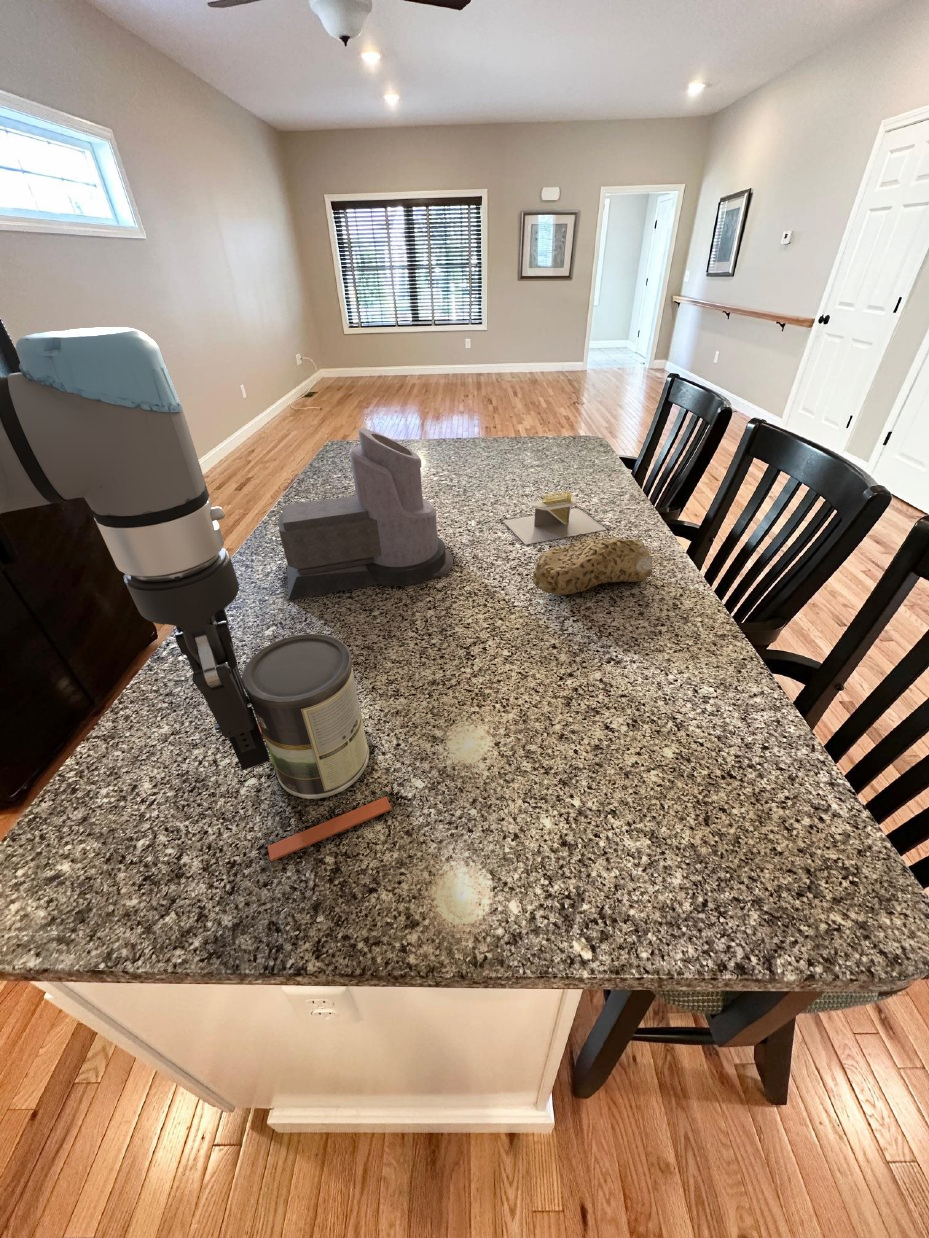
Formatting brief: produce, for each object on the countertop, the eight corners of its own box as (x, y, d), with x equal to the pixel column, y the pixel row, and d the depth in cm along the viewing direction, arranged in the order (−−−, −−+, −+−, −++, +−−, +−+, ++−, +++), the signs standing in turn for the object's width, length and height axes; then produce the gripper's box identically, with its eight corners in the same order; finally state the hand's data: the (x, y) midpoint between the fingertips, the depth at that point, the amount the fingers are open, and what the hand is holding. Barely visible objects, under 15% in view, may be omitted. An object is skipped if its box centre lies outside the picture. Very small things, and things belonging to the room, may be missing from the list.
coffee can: (275, 811, 53) (237, 713, 44) (277, 737, 61) (245, 643, 53) (376, 786, 55) (356, 688, 47) (364, 718, 63) (346, 625, 55)
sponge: (626, 565, 94) (522, 551, 91) (645, 530, 89) (534, 514, 86) (646, 615, 85) (531, 601, 82) (668, 580, 80) (545, 564, 77)
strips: (270, 861, 48) (270, 860, 48) (245, 730, 62) (244, 728, 62) (391, 809, 52) (391, 808, 52) (342, 697, 66) (342, 695, 66)
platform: (606, 529, 104) (611, 498, 100) (525, 544, 100) (527, 513, 96) (577, 508, 113) (580, 479, 110) (502, 520, 109) (502, 491, 105)
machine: (440, 537, 103) (432, 409, 89) (463, 575, 91) (458, 433, 77) (286, 562, 97) (252, 428, 83) (288, 606, 84) (248, 457, 70)
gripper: (236, 584, 36) (305, 793, 50) (219, 518, 46) (280, 708, 59) (115, 613, 33) (222, 826, 47) (124, 536, 43) (211, 731, 57)
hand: (255, 760), depth 53 cm, fingers closed
